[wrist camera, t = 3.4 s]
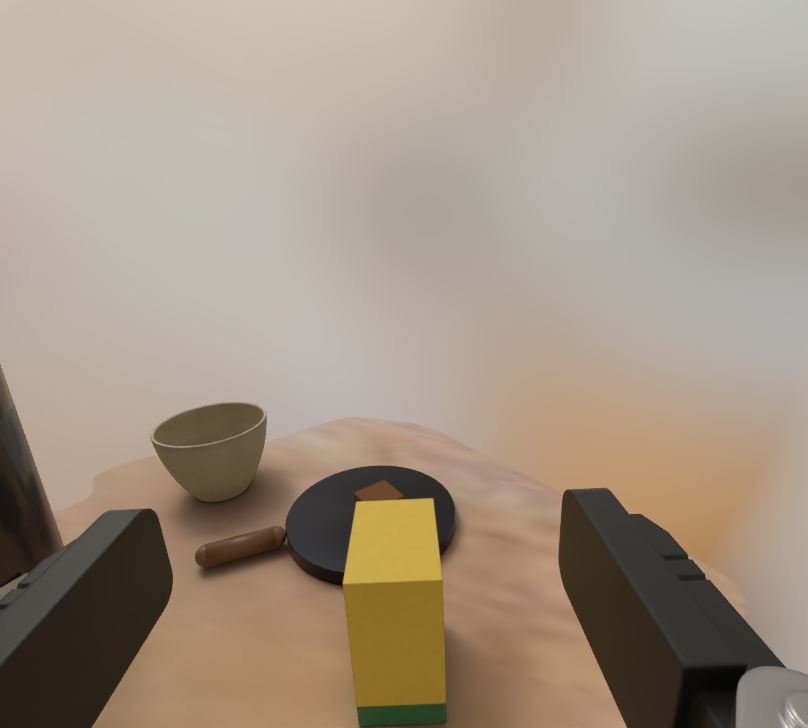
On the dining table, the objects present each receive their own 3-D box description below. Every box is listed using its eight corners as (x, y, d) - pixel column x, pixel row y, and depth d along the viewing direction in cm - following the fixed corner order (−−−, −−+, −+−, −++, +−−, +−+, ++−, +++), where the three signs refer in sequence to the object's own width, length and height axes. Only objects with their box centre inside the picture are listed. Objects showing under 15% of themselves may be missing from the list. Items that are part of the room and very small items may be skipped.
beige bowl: (284, 499, 41) (273, 429, 38) (164, 533, 37) (144, 458, 35) (268, 452, 49) (259, 393, 47) (170, 476, 46) (155, 413, 43)
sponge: (358, 727, 22) (342, 584, 19) (367, 623, 28) (355, 501, 25) (446, 723, 22) (442, 579, 19) (437, 620, 28) (433, 497, 25)
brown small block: (374, 532, 34) (372, 510, 33) (355, 513, 36) (353, 492, 36) (405, 516, 36) (404, 495, 35) (385, 499, 38) (384, 479, 37)
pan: (188, 649, 26) (182, 626, 26) (203, 515, 39) (199, 497, 38) (487, 552, 33) (487, 532, 32) (417, 463, 46) (417, 448, 45)
